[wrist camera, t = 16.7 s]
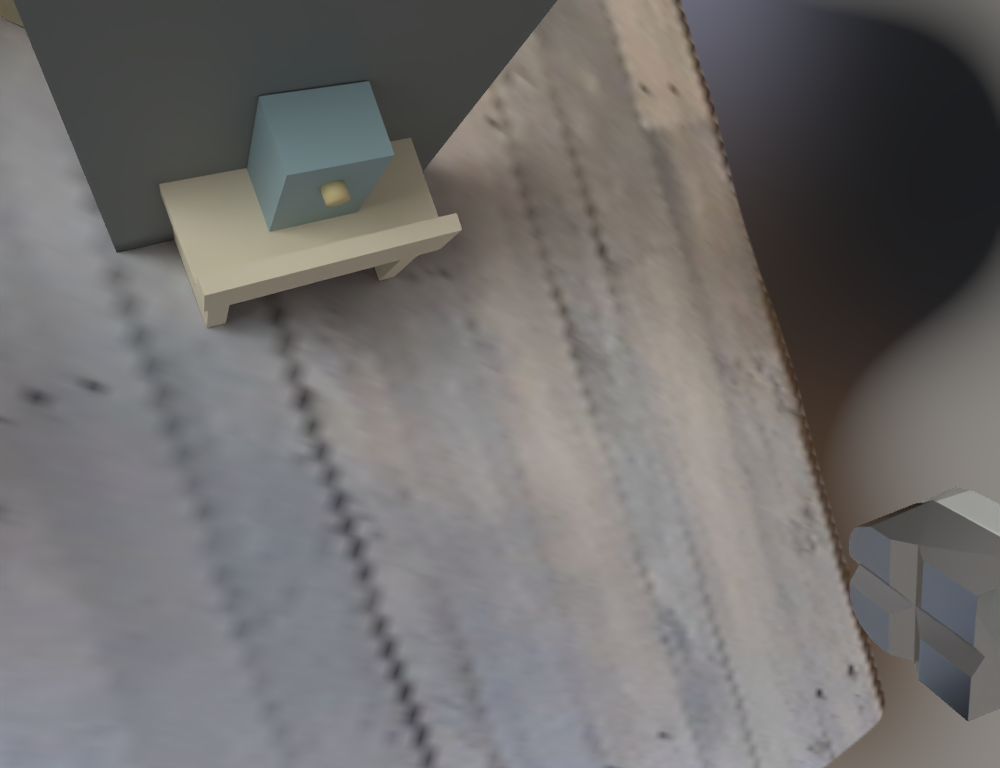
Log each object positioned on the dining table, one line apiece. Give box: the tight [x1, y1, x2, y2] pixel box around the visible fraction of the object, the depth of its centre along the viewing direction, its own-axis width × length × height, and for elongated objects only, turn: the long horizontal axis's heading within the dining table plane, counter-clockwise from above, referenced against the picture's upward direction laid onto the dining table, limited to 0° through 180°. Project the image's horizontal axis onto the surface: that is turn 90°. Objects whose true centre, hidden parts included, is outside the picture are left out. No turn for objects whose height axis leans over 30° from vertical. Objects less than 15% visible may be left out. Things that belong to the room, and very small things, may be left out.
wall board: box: [13, 0, 557, 328], centre depth 32 cm, size 20×14×30 cm
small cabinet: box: [247, 81, 394, 232], centre depth 33 cm, size 5×4×8 cm
